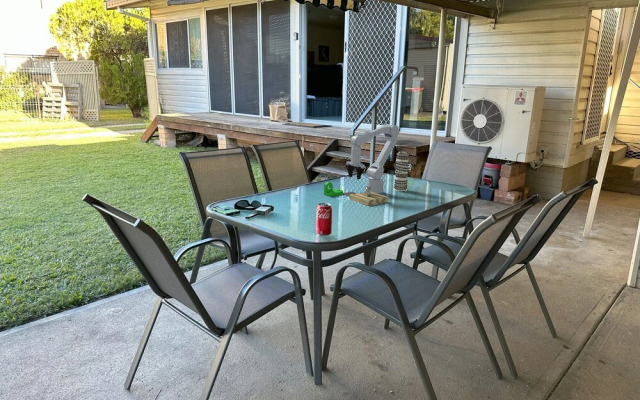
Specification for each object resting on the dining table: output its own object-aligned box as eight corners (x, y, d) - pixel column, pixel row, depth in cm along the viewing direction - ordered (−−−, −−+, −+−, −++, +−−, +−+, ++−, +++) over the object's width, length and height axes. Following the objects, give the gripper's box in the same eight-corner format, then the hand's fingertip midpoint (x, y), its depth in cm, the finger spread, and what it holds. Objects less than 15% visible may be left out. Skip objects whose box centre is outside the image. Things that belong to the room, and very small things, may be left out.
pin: (367, 199, 253) (368, 186, 251) (371, 200, 250) (372, 187, 248) (363, 200, 251) (364, 187, 249) (367, 201, 248) (368, 188, 246)
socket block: (369, 196, 262) (369, 191, 261) (388, 202, 249) (388, 197, 248) (349, 199, 252) (349, 194, 252) (367, 205, 240) (367, 200, 239)
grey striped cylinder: (393, 191, 276) (395, 152, 270) (393, 188, 285) (395, 150, 279) (407, 192, 275) (410, 153, 269) (407, 189, 284) (410, 151, 277)
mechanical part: (330, 197, 257) (330, 184, 255) (323, 195, 262) (323, 182, 260) (344, 193, 265) (345, 181, 263) (338, 192, 269) (338, 179, 267)
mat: (351, 192, 271) (352, 191, 271) (362, 195, 264) (362, 194, 264) (339, 194, 266) (339, 193, 266) (350, 197, 258) (350, 196, 258)
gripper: (343, 154, 262) (341, 176, 265) (358, 158, 251) (357, 180, 254) (352, 154, 266) (350, 175, 270) (367, 157, 255) (366, 179, 258)
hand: (354, 178), depth 262 cm, fingers open, 7 cm apart
